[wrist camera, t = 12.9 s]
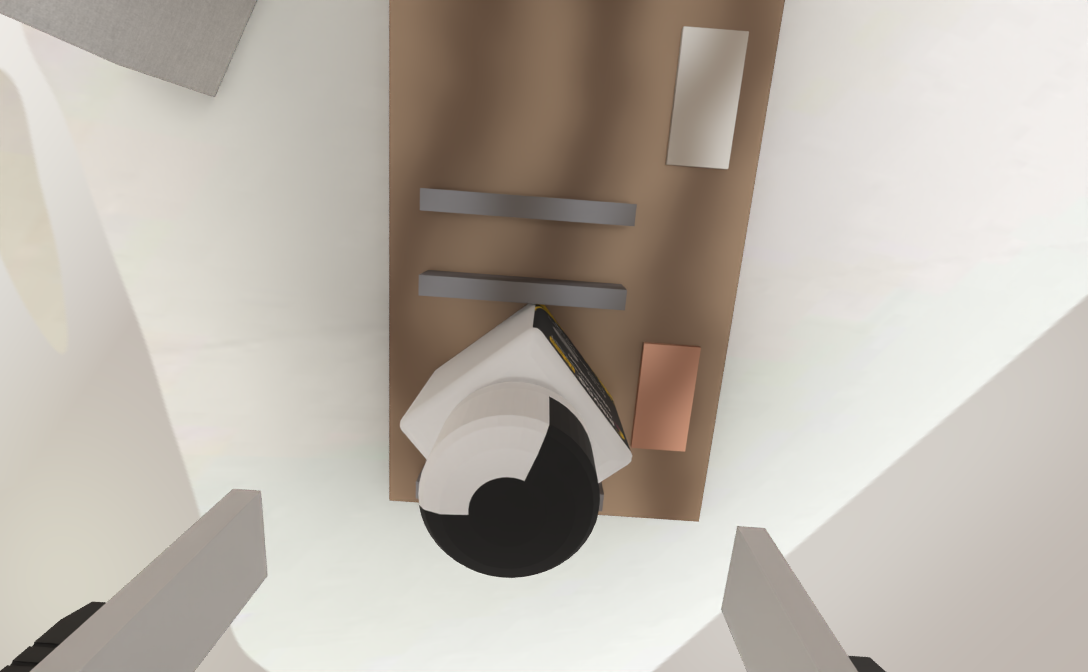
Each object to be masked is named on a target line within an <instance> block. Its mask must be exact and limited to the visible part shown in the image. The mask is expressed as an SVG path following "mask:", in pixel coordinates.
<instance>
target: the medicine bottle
mask: <svg viewBox="0 0 1088 672" xmlns="http://www.w3.org/2000/svg"><path fill="white" fill-rule="evenodd" d="M400 428H401V430H402V431H403V432H404V434H405V435H406V436H407V437H408V438H409V440H410V441H411V442H412V443H413V444H414V445H415V447H416V448H417V449H418V450H419V451H420V452H421V454H422V455H423V456H424V457H425V458H426V460H427V461H426V463H425V466H424V468H423V470H422V474H421V478H420V482H419V492H418V496H419V507H420V511H421V516H422V518H423V521H424V524H425V526H426V528H427V530H428V532H429V533H430V535H431V537H432V538H433V539H434V541H435V542H436V543H437V545H438V546H439V547H440V548H441V549H442V550H443V551H444V552H445V553H446V554H447V555H449V556H450V557H451V558H453V559H454V560H455V561H457V562H459V563H460V564H462V565H464V566H466V567H467V568H469V569H472V570H474V571H477V572H479V573H483V574H486V575H490V576H496V577H506V578H515V577H525V576H530V575H535V574H538V573H541V572H544V571H547V570H550V569H552V568H554V567H556V566H558V565H560V564H561V563H563V562H564V561H566V560H567V559H569V558H570V557H571V556H572V555H573V554H575V553H576V552H577V551H578V550H579V549H580V547H581V546H582V545H583V544H584V543H585V542H586V540H587V538H588V537H589V535H590V534H591V532H592V530H593V527H594V525H595V523H596V520H597V516H598V512H599V505H600V489H599V483H600V482H601V481H603V480H604V479H606V478H608V477H609V476H611V475H612V474H614V473H615V472H617V471H619V470H620V469H622V468H623V467H625V466H626V465H628V464H629V463H630V462H631V459H632V453H631V450H630V448H629V445H628V442H627V439H626V436H625V433H624V430H623V427H622V424H621V421H620V418H619V416H618V413H617V410H616V407H615V404H614V401H613V398H612V396H611V395H610V394H609V392H608V391H607V389H606V388H605V387H604V385H603V384H602V383H601V381H600V380H599V379H598V377H597V376H596V374H595V373H594V372H593V370H592V369H591V368H590V366H589V365H588V364H587V362H586V361H585V359H584V358H583V357H582V355H581V354H580V353H579V351H578V350H577V349H576V347H575V346H574V344H573V343H572V342H571V340H570V339H569V338H568V336H567V335H566V334H565V332H564V331H563V329H562V328H561V327H560V325H559V324H558V323H557V321H556V320H555V319H554V317H553V316H552V314H551V313H550V312H549V310H548V309H547V308H546V306H545V305H543V304H527V305H526V306H524V307H523V308H522V309H520V310H519V311H517V312H516V313H515V314H513V315H512V316H510V317H509V318H508V319H506V320H505V321H503V322H502V323H501V324H499V325H498V326H496V327H495V328H494V329H492V330H491V331H489V332H488V333H487V334H485V335H484V336H482V337H481V338H480V339H478V340H477V341H475V342H474V343H473V344H471V345H470V346H468V347H467V348H466V349H464V350H463V351H461V352H460V353H459V354H457V355H456V356H455V357H453V358H452V359H450V360H449V361H448V362H446V363H445V364H443V365H442V366H441V367H439V368H438V369H436V370H435V371H434V373H433V374H432V376H431V377H430V379H429V380H428V381H427V383H426V384H425V386H424V387H423V389H422V390H421V392H420V393H419V394H418V396H417V397H416V399H415V400H414V402H413V403H412V405H411V406H410V407H409V409H408V410H407V412H406V413H405V415H404V416H403V418H402V419H401V420H400Z"/></svg>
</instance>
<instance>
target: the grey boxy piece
mask: <svg viewBox="0 0 1088 672" xmlns="http://www.w3.org/2000/svg"><path fill="white" fill-rule="evenodd" d="M256 2H257V0H0V13H1V14H3V15H5V16H8V17H10V18H12V19H15V20H17V21H19V22H22V23H24V24H26V25H29V26H31V27H33V28H36V29H38V30H40V31H42V32H45V33H47V34H49V35H52V36H54V37H56V38H58V39H61V40H63V41H65V42H67V43H70V44H72V45H74V46H77V47H79V48H81V49H83V50H86V51H88V52H90V53H93V54H95V55H97V56H99V57H102V58H104V59H106V60H109V61H111V62H113V63H115V64H118V65H120V66H123V67H126V68H129V69H132V70H135V71H138V72H141V73H144V74H147V75H150V76H153V77H156V78H159V79H162V80H165V81H168V82H171V83H174V84H177V85H180V86H183V87H186V88H189V89H192V90H195V91H198V92H201V93H204V94H207V95H210V96H213V97H215V95H216V93H217V91H218V88H219V86H220V84H221V82H222V79H223V77H224V75H225V72H226V70H227V68H228V66H229V63H230V61H231V59H232V56H233V54H234V52H235V50H236V47H237V45H238V43H239V41H240V38H241V36H242V34H243V31H244V29H245V27H246V25H247V22H248V20H249V18H250V15H251V13H252V11H253V9H254V6H255V4H256Z"/></svg>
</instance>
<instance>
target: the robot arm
mask: <svg viewBox="0 0 1088 672" xmlns="http://www.w3.org/2000/svg"><path fill="white" fill-rule="evenodd" d="M266 577H267V563H266V550H265V537H264V524H263V511H262V498H261V491H256V490H242V489H232V490H231V491H230V492H229V493H228V494H227V495H226V496H225V497H223V498H222V499H221V500H220V501H219V502H218V503H217V504H216V505H215V506H213V507H212V508H211V509H210V510H209V511H208V512H207V513H206V514H205V515H203V516H202V517H201V518H200V519H199V520H198V521H197V522H196V523H195V524H193V525H192V526H191V527H190V528H189V529H188V530H187V531H186V532H185V533H183V534H182V535H181V536H180V537H179V538H178V539H177V540H176V541H175V542H173V543H172V544H171V545H170V546H169V547H168V548H167V549H166V550H165V551H164V552H162V553H161V554H160V555H159V556H158V557H157V558H156V559H154V560H153V561H152V562H151V563H150V564H149V565H148V566H147V567H146V568H144V569H143V570H142V571H141V572H140V573H139V574H138V575H137V576H136V577H134V578H133V579H132V580H131V581H130V582H129V583H128V584H127V585H126V586H125V587H123V588H122V589H121V590H120V591H119V592H118V593H117V594H116V595H114V596H113V597H112V598H111V599H110V600H109V601H108V602H107V603H105V602H91V603H89V604H87V605H86V606H84V607H82V608H80V609H79V610H77V611H75V612H73V613H72V614H70V615H68V616H66V617H65V618H63V619H61V620H60V621H59V622H57V623H56V624H55V625H54V626H53V627H52V628H50V629H49V630H48V631H47V632H46V633H44V634H43V635H42V636H41V637H40V638H39V639H37V640H36V641H35V642H34V645H33V646H32V647H30V646H29V647H28V648H27V649H26V650H25V651H23V652H22V653H21V654H20V655H19V656H17V657H16V658H15V659H14V660H13V662H12V664H11V665H10V666H8V665H7V666H6V667H4V668H3V669H2V670H1V671H0V672H194V671H195V670H196V669H197V667H198V666H199V665H200V663H201V662H202V661H203V660H204V658H205V657H206V656H207V654H208V653H209V652H210V650H211V649H212V648H213V646H214V645H215V644H216V642H217V641H218V640H219V639H220V637H221V636H222V635H223V633H224V632H225V631H226V629H227V628H228V627H229V626H230V624H231V623H232V622H233V620H234V619H235V618H236V616H237V615H238V614H239V612H240V611H241V610H242V608H243V607H244V606H245V605H246V603H247V602H248V601H249V599H250V598H251V597H252V595H253V594H254V593H255V591H256V590H257V589H258V588H259V586H260V585H261V584H262V582H263V581H264V580H265V578H266ZM721 610H722V612H723V615H724V617H725V620H726V622H727V624H728V627H729V629H730V632H731V634H732V637H733V639H734V641H735V644H736V646H737V649H738V651H739V654H740V656H741V658H742V661H743V663H744V666H745V668H746V670H747V672H885V671H884V670H883V669H882V668H881V667H880V666H879V665H878V664H877V663H875V662H874V661H873V660H872V659H871V658H869V657H857V656H847V654H846V652H845V651H844V649H843V648H842V646H841V645H840V643H839V642H838V640H837V639H836V637H835V635H834V634H833V632H832V631H831V629H830V628H829V626H828V625H827V623H826V622H825V620H824V618H823V617H822V615H821V614H820V613H819V611H818V609H817V608H816V606H815V605H814V603H813V601H812V600H811V598H810V597H809V596H808V594H807V592H806V591H805V589H804V588H803V586H802V585H801V583H800V581H799V580H798V578H797V577H796V575H795V574H794V572H793V571H792V569H791V568H790V566H789V564H788V563H787V561H786V560H785V558H784V557H783V555H782V554H781V552H780V551H779V549H778V547H777V546H776V544H775V543H774V541H773V540H772V538H771V537H770V535H769V534H768V532H767V530H766V529H765V528H754V527H741V526H737V531H736V536H735V541H734V546H733V551H732V556H731V562H730V567H729V572H728V577H727V582H726V587H725V593H724V598H723V603H722V608H721Z"/></svg>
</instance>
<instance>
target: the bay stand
mask: <svg viewBox="0 0 1088 672" xmlns="http://www.w3.org/2000/svg"><path fill="white" fill-rule="evenodd" d="M784 2H785V0H389V500H391V501H406V502H419V496H418V492H419V482H420V478H421V474H422V470H423V468H424V466H425V463H426V461H427V460H426V458H425V457H424V456H423V455H422V454H421V452H420V451H419V450H418V449H417V448H416V447H415V445H414V444H413V443H412V442H411V441H410V440H409V438H408V437H407V436H406V435H405V434H404V432H403V431H402V430H401V428H400V420H401V419H402V418H403V416H404V415H405V413H406V412H407V410H408V409H409V407H410V406H411V405H412V403H413V402H414V400H415V399H416V397H417V396H418V394H419V393H420V392H421V390H422V389H423V387H424V386H425V384H426V383H427V381H428V380H429V379H430V377H431V376H432V374H433V373H434V371H435V370H436V369H438V368H439V367H441V366H442V365H443V364H445V363H446V362H448V361H449V360H450V359H452V358H453V357H455V356H456V355H457V354H459V353H460V352H461V351H463V350H464V349H466V348H467V347H468V346H470V345H471V344H473V343H474V342H475V341H477V340H478V339H480V338H481V337H482V336H484V335H485V334H487V333H488V332H489V331H491V330H492V329H494V328H495V327H496V326H498V325H499V324H501V323H502V322H503V321H505V320H506V319H508V318H509V317H510V316H512V315H513V314H515V313H516V312H517V311H519V310H520V309H522V308H523V307H524V306H526V305H527V304H543V305H545V306H546V308H547V309H548V310H549V312H550V313H551V314H552V316H553V317H554V319H555V320H556V321H557V323H558V324H559V325H560V327H561V328H562V329H563V331H564V332H565V334H566V335H567V336H568V338H569V339H570V340H571V342H572V343H573V344H574V346H575V347H576V349H577V350H578V351H579V353H580V354H581V355H582V357H583V358H584V359H585V361H586V362H587V364H588V365H589V366H590V368H591V369H592V370H593V372H594V373H595V374H596V376H597V377H598V379H599V380H600V381H601V383H602V384H603V385H604V387H605V388H606V389H607V391H608V392H609V394H610V395H611V396H612V398H613V401H614V404H615V407H616V410H617V413H618V416H619V418H620V421H621V424H622V427H623V430H624V433H625V436H626V439H627V442H628V445H629V448H630V450H631V453H632V459H631V462H630V463H629V464H628V465H626V466H625V467H623V468H622V469H620V470H619V471H617V472H615V473H614V474H612V475H611V476H609V477H608V478H606V479H604V480H603V481H601V482H600V483H599V489H600V505H599V512H598V515H610V516H625V517H639V518H654V519H669V520H683V521H698V522H699V516H700V510H701V504H702V498H703V492H704V486H705V480H706V474H707V468H708V462H709V456H710V450H711V444H712V438H713V432H714V426H715V420H716V414H717V408H718V401H719V395H720V389H721V383H722V377H723V371H724V365H725V359H726V353H727V347H728V341H729V335H730V329H731V323H732V317H733V311H734V305H735V299H736V293H737V287H738V280H739V274H740V268H741V262H742V256H743V250H744V244H745V238H746V232H747V226H748V220H749V214H750V208H751V202H752V196H753V190H754V184H755V178H756V172H757V166H758V159H759V153H760V147H761V141H762V135H763V129H764V123H765V117H766V111H767V105H768V99H769V93H770V87H771V81H772V75H773V69H774V63H775V57H776V51H777V45H778V38H779V32H780V26H781V20H782V14H783V8H784Z"/></svg>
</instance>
